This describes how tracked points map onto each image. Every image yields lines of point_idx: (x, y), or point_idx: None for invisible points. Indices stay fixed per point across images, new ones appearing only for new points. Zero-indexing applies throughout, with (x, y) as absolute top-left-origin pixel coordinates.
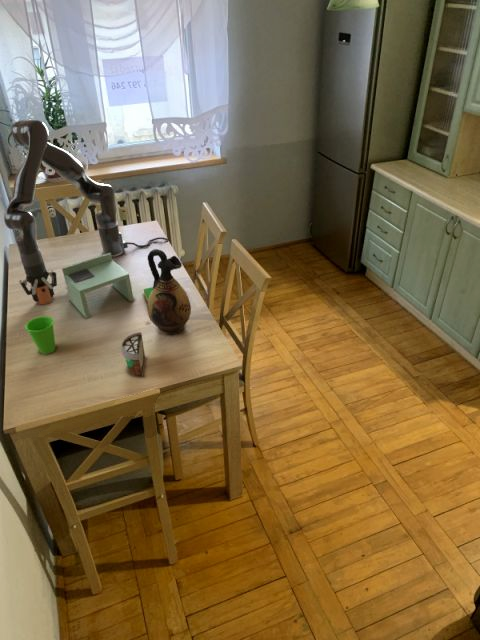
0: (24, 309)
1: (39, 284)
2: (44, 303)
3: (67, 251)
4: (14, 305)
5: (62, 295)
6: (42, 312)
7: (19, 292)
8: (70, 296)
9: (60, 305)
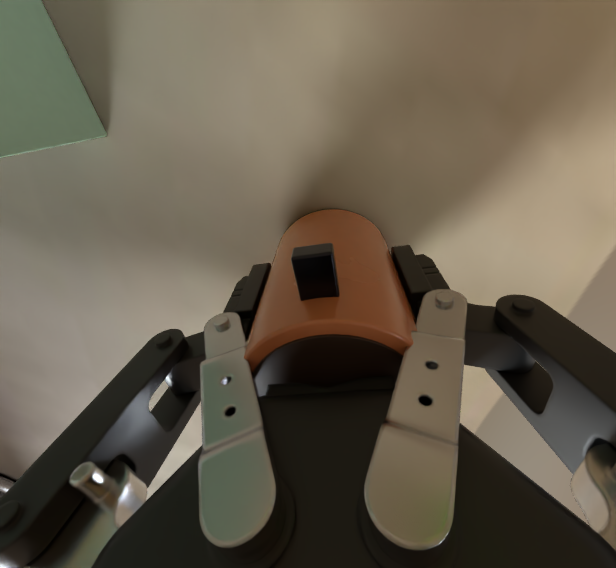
0: (527, 213)
1: (345, 393)
2: (347, 212)
3: None
4: None
5: (195, 271)
6: (411, 35)
7: None
8: (17, 89)
9: (207, 97)
